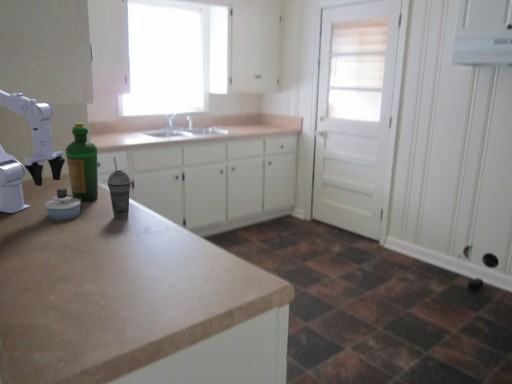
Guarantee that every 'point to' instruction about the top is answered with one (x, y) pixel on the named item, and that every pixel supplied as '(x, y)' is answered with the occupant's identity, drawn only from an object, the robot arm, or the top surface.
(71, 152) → the bottle
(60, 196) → the knobbed lid
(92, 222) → the top surface
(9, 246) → the top surface
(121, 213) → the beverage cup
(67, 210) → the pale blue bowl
